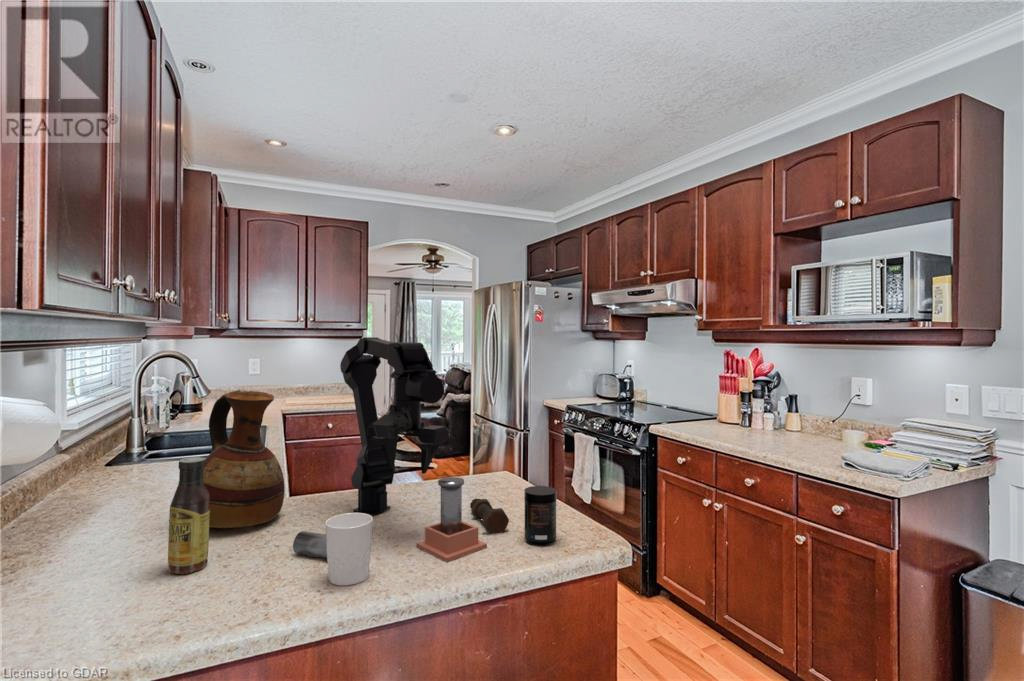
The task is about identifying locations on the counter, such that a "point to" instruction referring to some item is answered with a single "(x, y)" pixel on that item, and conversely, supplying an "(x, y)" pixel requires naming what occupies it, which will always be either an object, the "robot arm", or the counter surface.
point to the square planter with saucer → (451, 542)
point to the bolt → (489, 516)
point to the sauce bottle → (189, 519)
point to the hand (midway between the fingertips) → (407, 470)
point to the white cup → (348, 547)
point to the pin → (310, 544)
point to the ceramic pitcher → (241, 464)
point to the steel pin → (451, 504)
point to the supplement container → (540, 515)
